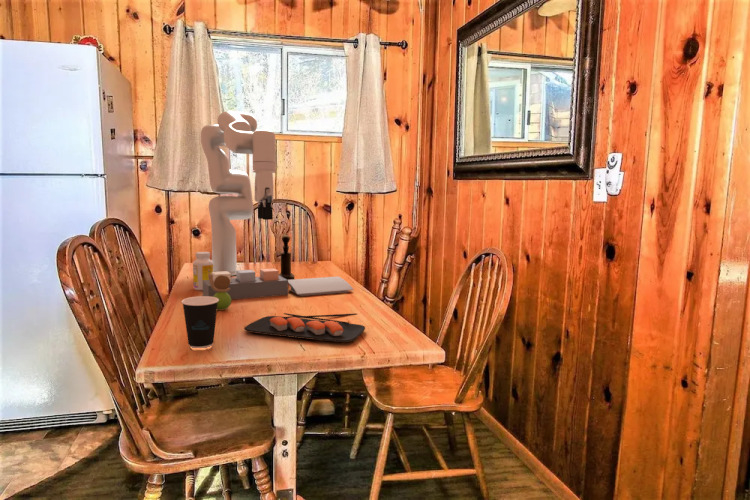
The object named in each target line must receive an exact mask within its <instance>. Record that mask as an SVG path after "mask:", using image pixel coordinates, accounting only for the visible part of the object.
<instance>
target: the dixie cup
mask: <svg viewBox="0 0 750 500" xmlns="http://www.w3.org/2000/svg"><path fill="white" fill-rule="evenodd" d="M218 301H219V299H218V298H216V297H210V296H203V295H200V296H198V295H197V296H192V297H191V296H190V297H186V298H184V299H182V300H181V304H182V307H183V313H184V321H185V322H184V323H185V330H186V336H187V344H188V346H189V348H190V347H192V348H207V347H210V346H212V347H213V344H214V342H215V333H216V332H215V330H216V322H217V321H216V320H217V311H218V309H217V302H218Z"/></svg>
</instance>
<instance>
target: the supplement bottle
mask: <svg viewBox="0 0 750 500" xmlns="http://www.w3.org/2000/svg"><path fill="white" fill-rule="evenodd" d="M210 256H211V252H209V251H197V252H195V257H196V259H194V260H193V262H192V274H193V275H192V280H193V290H195V291H203V280H209V278H208V274H212V272H213V261H212V259H210ZM208 270H210V272H208Z"/></svg>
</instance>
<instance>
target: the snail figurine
mask: <svg viewBox="0 0 750 500" xmlns="http://www.w3.org/2000/svg"><path fill="white" fill-rule="evenodd" d="M208 272H210V270H208ZM208 278H209V281H210V285H211V287H212V289H213V290H214V291H217V292H218V293H216V294H215V295H214V296H213V297H216V298H218V299H219V301H218V302H217V311H224V310H227V309H228V308H229V307H230V306H231V303H232V300H231V297H230V295H229V294H228V293H226V292H227V291H229V290H230V288H228V287H229V286H230V279H229V278H228V277H227V276H225V275H220V276H218V277H216V279H215V281H213V274H208Z"/></svg>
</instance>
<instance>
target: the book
mask: <svg viewBox="0 0 750 500" xmlns="http://www.w3.org/2000/svg"><path fill="white" fill-rule="evenodd" d="M288 287H290V291H291V292H292V293H295V294H296V295H297V296H299V297H305V296H306V297H307V296H319V295H321V296H322V295H330V294H332V295H333V294H342V293H343V294H346V293H349V291H354V288H353V286H352V285H351V284H350V283H349V282H348V281H347V280H345V279H344V278H342V277H341V276H325V277H313V278H312V277H310V278H308V277H307V278H297V279H295V278H294V279H293V280H288Z"/></svg>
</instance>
